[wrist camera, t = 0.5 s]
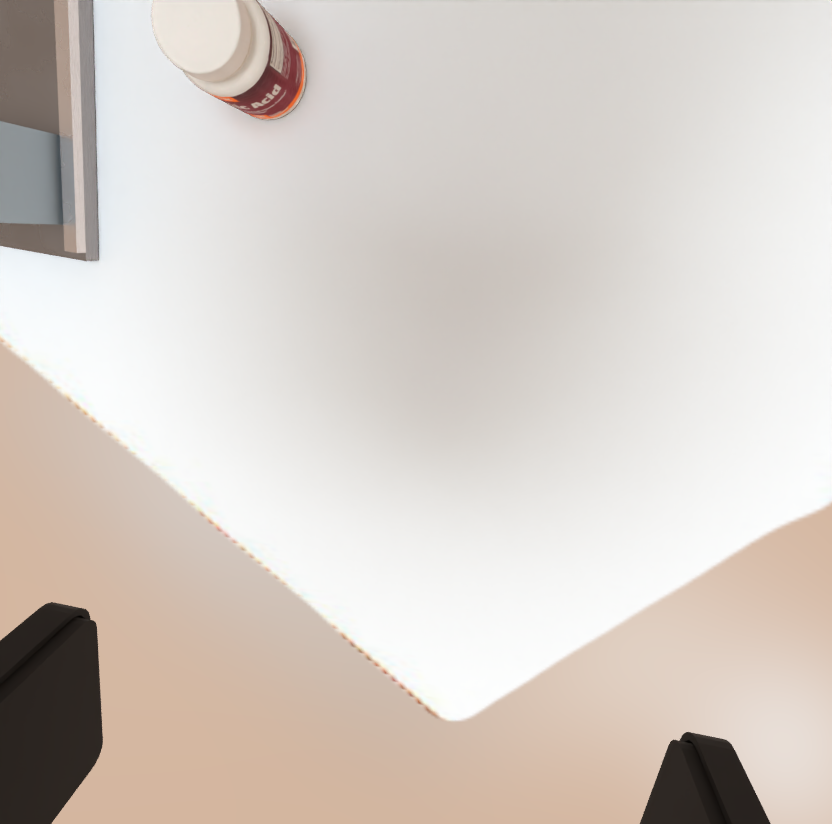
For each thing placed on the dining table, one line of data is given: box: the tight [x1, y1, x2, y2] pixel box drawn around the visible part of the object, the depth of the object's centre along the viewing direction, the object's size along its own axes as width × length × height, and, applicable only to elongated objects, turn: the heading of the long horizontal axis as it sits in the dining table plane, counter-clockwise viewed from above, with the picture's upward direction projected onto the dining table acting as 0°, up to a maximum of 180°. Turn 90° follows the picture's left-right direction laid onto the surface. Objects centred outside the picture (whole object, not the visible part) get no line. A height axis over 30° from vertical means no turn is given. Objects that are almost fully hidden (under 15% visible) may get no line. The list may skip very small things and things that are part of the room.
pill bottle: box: [151, 0, 306, 120], centre depth 28 cm, size 5×5×8 cm
